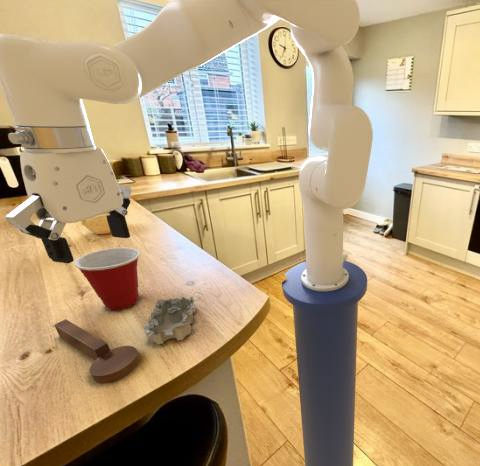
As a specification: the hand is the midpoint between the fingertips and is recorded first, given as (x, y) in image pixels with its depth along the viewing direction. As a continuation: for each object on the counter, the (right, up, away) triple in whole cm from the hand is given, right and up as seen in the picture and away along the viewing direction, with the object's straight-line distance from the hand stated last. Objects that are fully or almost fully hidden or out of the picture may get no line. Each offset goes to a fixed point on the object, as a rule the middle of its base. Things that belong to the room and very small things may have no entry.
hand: (95, 248), depth 47 cm
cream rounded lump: (-45, +3, +56) cm, 71 cm away
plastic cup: (-9, -13, +18) cm, 24 cm away
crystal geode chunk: (+6, -16, +11) cm, 21 cm away
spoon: (-4, -19, +4) cm, 20 cm away
